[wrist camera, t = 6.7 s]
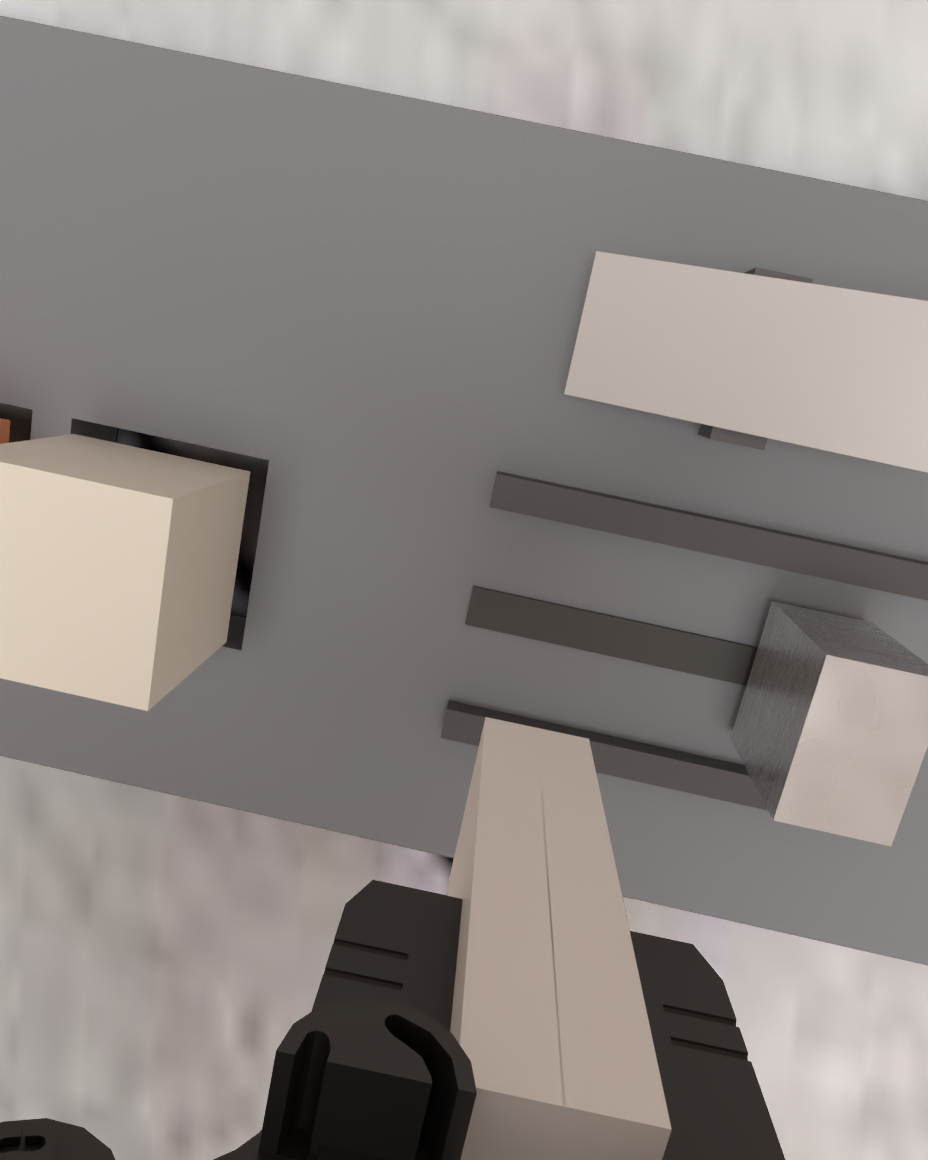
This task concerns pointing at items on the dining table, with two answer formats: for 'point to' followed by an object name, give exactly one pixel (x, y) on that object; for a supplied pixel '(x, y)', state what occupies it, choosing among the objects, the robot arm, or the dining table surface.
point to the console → (448, 460)
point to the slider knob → (833, 723)
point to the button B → (114, 566)
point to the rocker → (758, 356)
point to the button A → (4, 430)
